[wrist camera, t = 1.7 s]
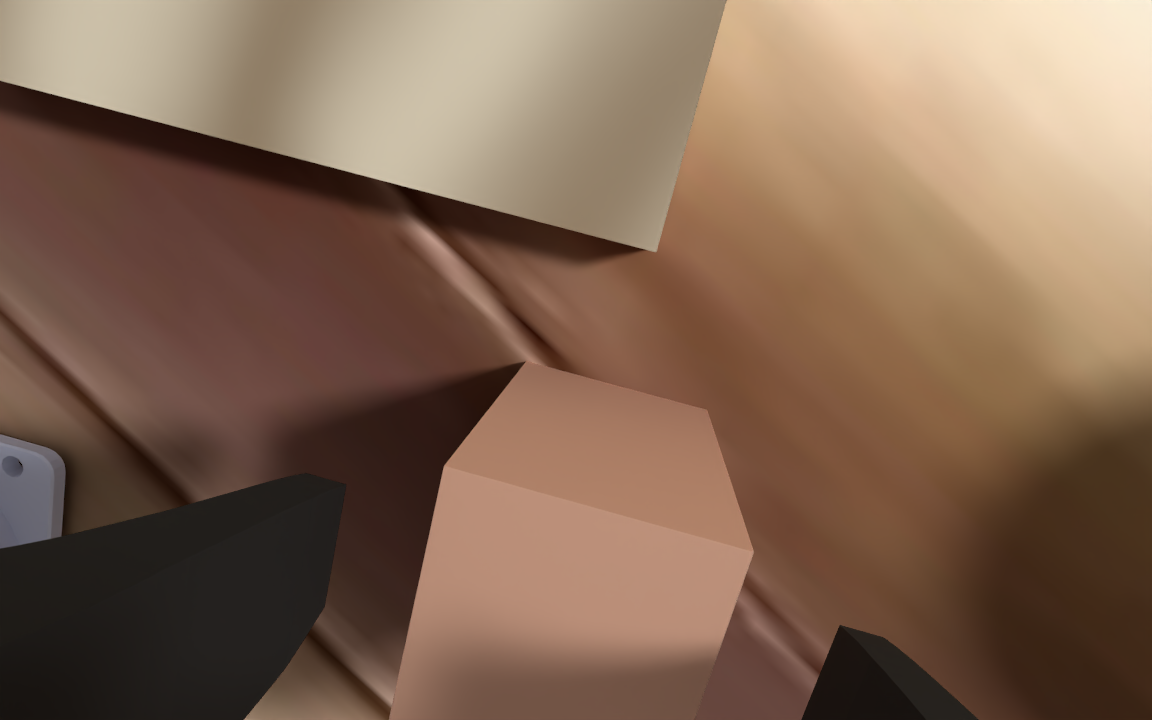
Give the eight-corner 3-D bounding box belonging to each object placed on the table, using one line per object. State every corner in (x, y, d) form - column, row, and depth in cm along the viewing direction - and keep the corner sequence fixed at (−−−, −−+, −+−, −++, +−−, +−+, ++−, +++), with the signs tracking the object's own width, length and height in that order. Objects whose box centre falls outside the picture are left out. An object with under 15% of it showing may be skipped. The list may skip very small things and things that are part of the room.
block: (487, 524, 15) (388, 722, 9) (526, 360, 14) (444, 465, 8) (655, 571, 15) (664, 803, 9) (706, 409, 14) (754, 551, 8)
